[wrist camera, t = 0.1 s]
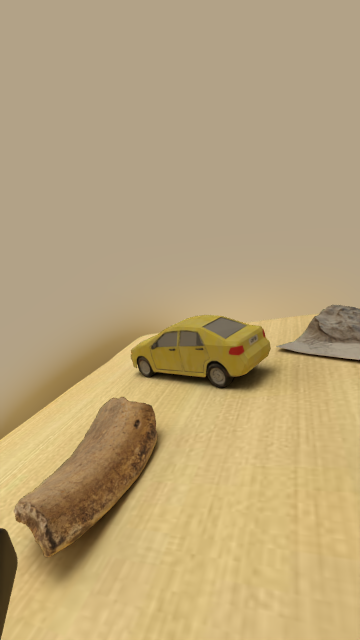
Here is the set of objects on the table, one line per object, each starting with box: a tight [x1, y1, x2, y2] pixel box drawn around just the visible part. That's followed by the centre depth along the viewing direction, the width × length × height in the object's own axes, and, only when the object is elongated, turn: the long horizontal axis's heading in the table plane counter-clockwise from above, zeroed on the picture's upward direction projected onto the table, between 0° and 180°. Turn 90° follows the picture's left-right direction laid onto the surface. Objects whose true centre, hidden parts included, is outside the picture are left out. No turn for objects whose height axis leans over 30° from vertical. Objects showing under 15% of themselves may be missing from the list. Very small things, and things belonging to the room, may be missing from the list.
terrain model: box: [276, 305, 360, 360], centre depth 58 cm, size 21×21×5 cm
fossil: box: [14, 397, 158, 557], centre depth 35 cm, size 22×6×10 cm
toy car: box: [131, 315, 271, 388], centre depth 59 cm, size 12×28×10 cm, turn 49°
